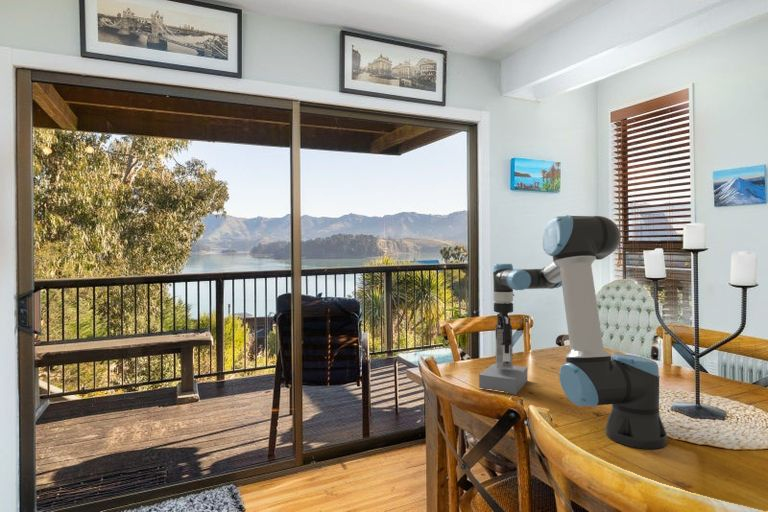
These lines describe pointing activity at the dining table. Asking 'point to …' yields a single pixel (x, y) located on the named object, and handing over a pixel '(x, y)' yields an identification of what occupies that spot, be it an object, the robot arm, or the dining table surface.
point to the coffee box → (499, 348)
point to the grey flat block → (503, 379)
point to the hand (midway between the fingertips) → (503, 358)
